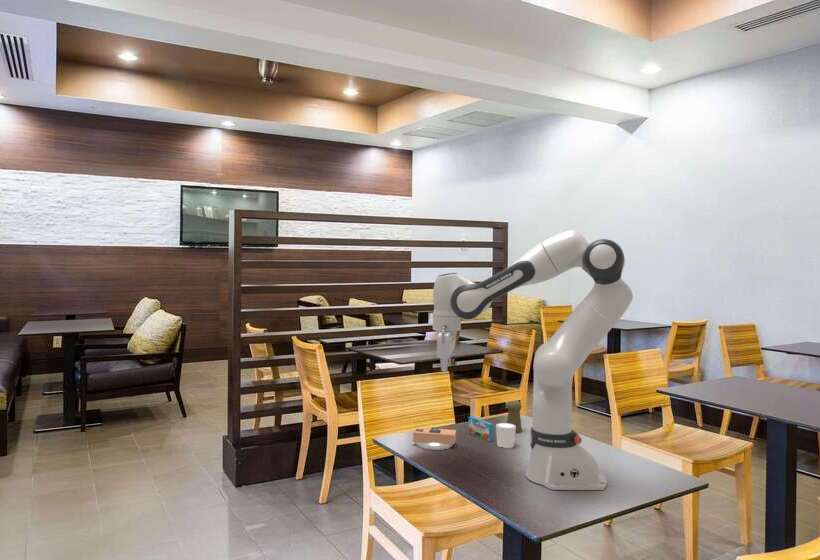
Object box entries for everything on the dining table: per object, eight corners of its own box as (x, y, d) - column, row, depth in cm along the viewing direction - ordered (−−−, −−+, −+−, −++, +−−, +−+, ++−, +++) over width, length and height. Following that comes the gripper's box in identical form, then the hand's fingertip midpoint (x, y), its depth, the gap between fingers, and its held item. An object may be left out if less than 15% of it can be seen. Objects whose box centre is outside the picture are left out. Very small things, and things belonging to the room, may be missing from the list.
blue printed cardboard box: (492, 441, 197) (492, 423, 197) (489, 441, 196) (489, 424, 196) (471, 432, 207) (471, 415, 207) (468, 432, 206) (468, 416, 206)
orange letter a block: (456, 438, 194) (456, 430, 194) (454, 444, 188) (454, 435, 188) (416, 436, 196) (416, 427, 196) (413, 441, 190) (413, 432, 190)
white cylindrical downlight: (511, 450, 187) (511, 429, 187) (492, 446, 191) (492, 426, 191) (518, 444, 193) (519, 424, 193) (500, 441, 197) (500, 421, 197)
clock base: (455, 439, 197) (455, 424, 197) (451, 451, 185) (452, 435, 185) (418, 437, 200) (419, 422, 200) (412, 449, 187) (413, 432, 187)
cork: (523, 433, 206) (523, 403, 206) (506, 433, 206) (507, 403, 206) (520, 428, 212) (521, 399, 212) (504, 428, 212) (505, 399, 212)
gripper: (453, 328, 165) (452, 375, 165) (459, 321, 185) (458, 363, 185) (432, 327, 166) (431, 374, 166) (440, 321, 186) (439, 362, 186)
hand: (445, 368), depth 176 cm, fingers open, 8 cm apart
